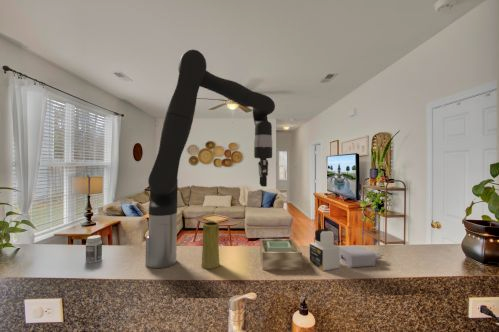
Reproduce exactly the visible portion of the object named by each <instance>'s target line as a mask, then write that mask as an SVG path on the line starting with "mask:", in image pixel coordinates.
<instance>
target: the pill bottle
mask: <svg viewBox="0 0 499 332" xmlns="http://www.w3.org/2000/svg"><path fill="white" fill-rule="evenodd" d="M86 242H87V243H85V262H86V263H88V264H92V263H97V262H100V261H101V260H102V258H103V242H102V235H99V234H97V235H91V236H87V239H86Z"/></svg>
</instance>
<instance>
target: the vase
mask: <svg viewBox="0 0 499 332" xmlns="http://www.w3.org/2000/svg"><path fill="white" fill-rule="evenodd" d="M202 225H203V227H202V228H203V229H202V248H201V249H202V250H201V251H202V253H201V268H203V269H205V270H212V269H213V270H214V269H216V268H218V267H219V266H220V248H219V243H220V242H219V241H220V240H219V238H220V236H219V231H220V228H219V227H220V223H219V222H217V221H207V222H203V224H202Z"/></svg>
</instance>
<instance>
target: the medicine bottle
mask: <svg viewBox="0 0 499 332" xmlns="http://www.w3.org/2000/svg"><path fill="white" fill-rule="evenodd" d="M314 233H315V235H314V242H313V241H312V242H310V243H309V263H310V264H312V265H313V266H314V267H316V269H319V270H320V271H322V272H324V271H330V270H335V269H340V266H341V265H340V262H341V260H340V248H339V247H338V246H339V245H336V244H334V243H335V242H334V240H335V239H334V238H335V237H334V231H332V230H329V229H326V228H320V229H316V230H315V232H314Z"/></svg>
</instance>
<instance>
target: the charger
mask: <svg viewBox="0 0 499 332" xmlns="http://www.w3.org/2000/svg"><path fill="white" fill-rule="evenodd" d="M337 246H338V247H339V248H340V262H342V263H343V264H345V265H346V266H348V267H349V268H362V267H363V268H364V267H366V268H367V267H375V266H376V260H381V259H383V256H384V254H381V253H380V252H378V251H375V250H370V249H367V248H366V247H364V246H361V245H341V246H340V245H337Z"/></svg>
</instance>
